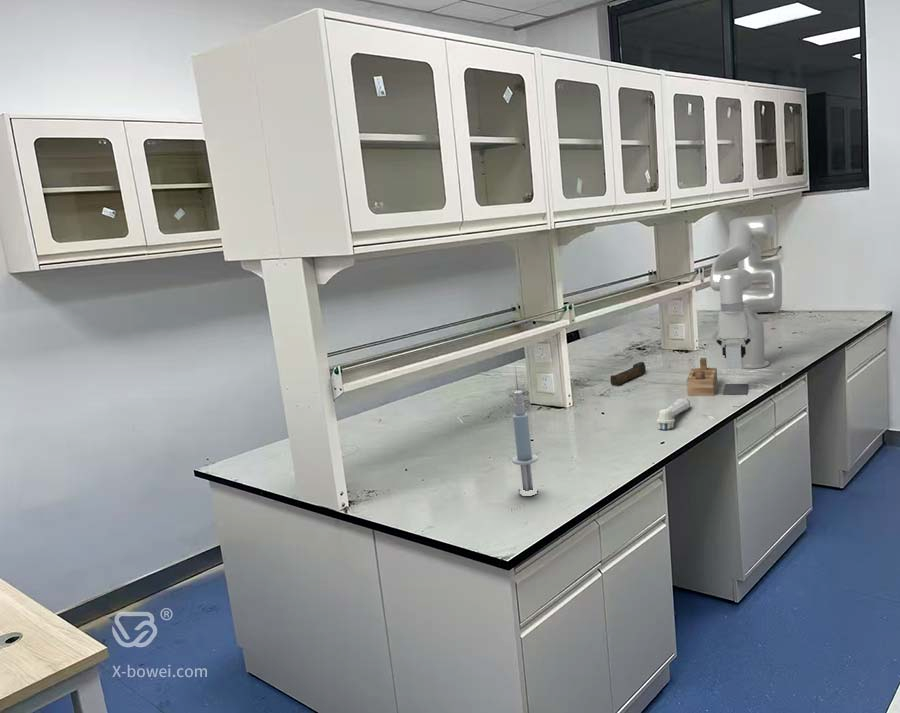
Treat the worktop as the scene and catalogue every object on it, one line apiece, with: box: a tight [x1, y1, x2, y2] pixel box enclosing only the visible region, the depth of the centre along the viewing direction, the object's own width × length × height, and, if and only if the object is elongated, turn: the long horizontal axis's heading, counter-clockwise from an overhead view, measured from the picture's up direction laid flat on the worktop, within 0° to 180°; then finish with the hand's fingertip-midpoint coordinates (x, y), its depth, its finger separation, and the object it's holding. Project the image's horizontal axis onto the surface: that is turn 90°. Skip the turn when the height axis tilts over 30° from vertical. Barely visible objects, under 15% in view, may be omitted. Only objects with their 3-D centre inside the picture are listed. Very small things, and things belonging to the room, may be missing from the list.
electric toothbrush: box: [655, 397, 691, 430], centre depth 235 cm, size 5×7×25 cm
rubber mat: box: [722, 382, 749, 396], centre depth 260 cm, size 14×8×1 cm, turn 156°
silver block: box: [725, 342, 743, 370], centre depth 257 cm, size 7×5×8 cm
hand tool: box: [609, 361, 647, 387], centre depth 292 cm, size 23×5×6 cm, turn 131°
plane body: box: [686, 357, 718, 397], centre depth 264 cm, size 18×9×10 cm, turn 156°
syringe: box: [511, 367, 539, 491], centre depth 186 cm, size 6×7×36 cm
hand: (734, 356), depth 257 cm, fingers closed on silver block, 5 cm apart
